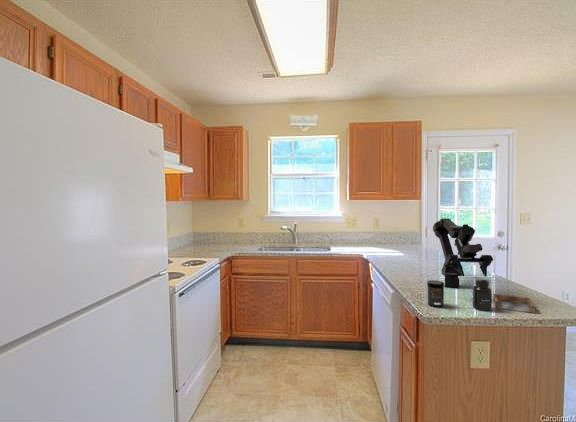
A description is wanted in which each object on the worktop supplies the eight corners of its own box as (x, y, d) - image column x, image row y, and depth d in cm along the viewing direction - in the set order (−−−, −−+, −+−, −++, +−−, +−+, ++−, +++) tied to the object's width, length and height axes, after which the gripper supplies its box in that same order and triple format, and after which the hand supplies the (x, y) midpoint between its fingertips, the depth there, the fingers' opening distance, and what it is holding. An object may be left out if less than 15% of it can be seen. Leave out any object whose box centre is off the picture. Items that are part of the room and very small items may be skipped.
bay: (495, 308, 126) (495, 301, 126) (493, 300, 136) (493, 293, 136) (534, 313, 119) (534, 306, 119) (529, 304, 129) (529, 297, 129)
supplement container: (440, 302, 134) (440, 280, 134) (446, 308, 127) (446, 284, 127) (425, 302, 135) (424, 280, 134) (430, 307, 128) (430, 284, 128)
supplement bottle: (485, 312, 121) (485, 283, 121) (469, 307, 127) (469, 280, 127) (495, 309, 124) (495, 281, 124) (478, 304, 130) (478, 278, 130)
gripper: (447, 237, 138) (457, 265, 127) (491, 237, 135) (504, 266, 124) (441, 251, 146) (450, 279, 135) (482, 251, 143) (494, 280, 132)
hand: (474, 276), depth 132 cm, fingers open, 9 cm apart
